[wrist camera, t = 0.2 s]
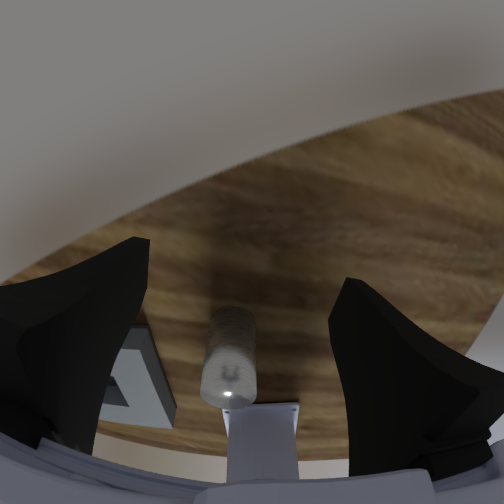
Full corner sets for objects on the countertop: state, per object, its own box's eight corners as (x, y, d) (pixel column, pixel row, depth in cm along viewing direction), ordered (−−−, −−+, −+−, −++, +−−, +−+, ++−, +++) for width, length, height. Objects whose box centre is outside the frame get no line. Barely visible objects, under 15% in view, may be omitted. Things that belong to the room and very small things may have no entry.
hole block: (176, 406, 30) (172, 428, 28) (82, 395, 30) (75, 414, 28) (148, 324, 25) (139, 349, 22) (40, 318, 25) (26, 338, 22)
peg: (255, 339, 26) (257, 409, 19) (212, 340, 26) (204, 409, 19) (254, 305, 24) (255, 377, 18) (207, 307, 24) (195, 377, 18)
